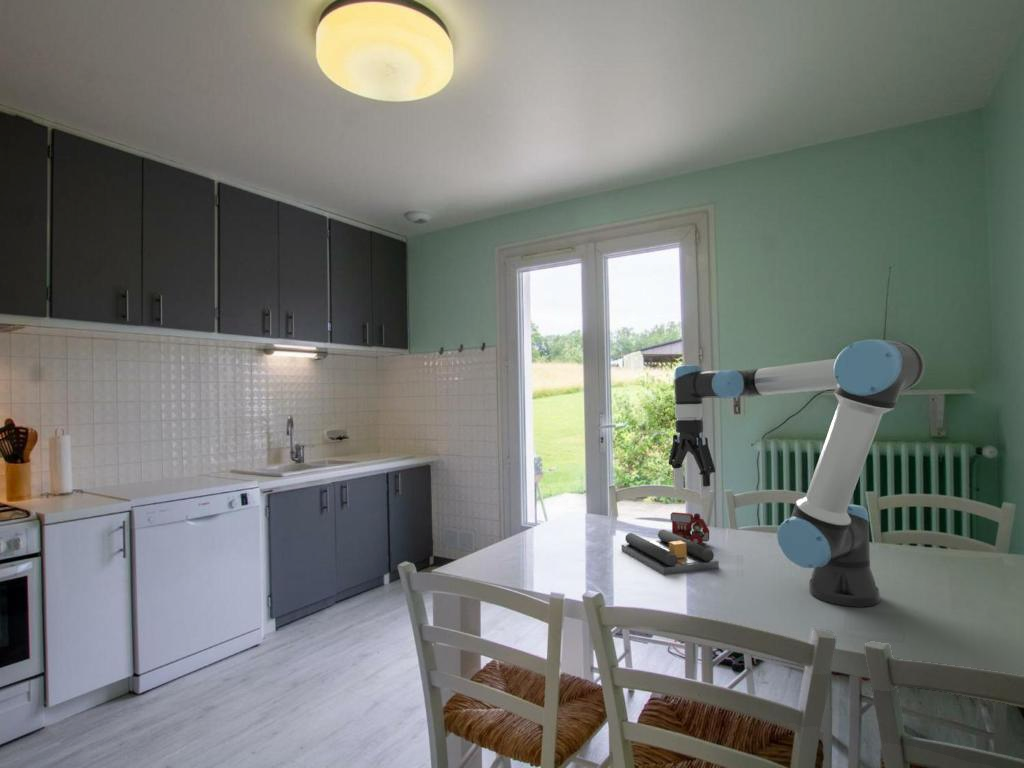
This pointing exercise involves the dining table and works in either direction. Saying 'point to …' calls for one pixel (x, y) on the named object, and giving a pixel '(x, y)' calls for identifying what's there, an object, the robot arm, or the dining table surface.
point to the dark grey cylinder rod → (652, 549)
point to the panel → (682, 565)
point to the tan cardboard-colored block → (678, 548)
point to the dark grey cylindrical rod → (687, 545)
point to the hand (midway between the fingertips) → (691, 493)
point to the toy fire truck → (689, 527)
